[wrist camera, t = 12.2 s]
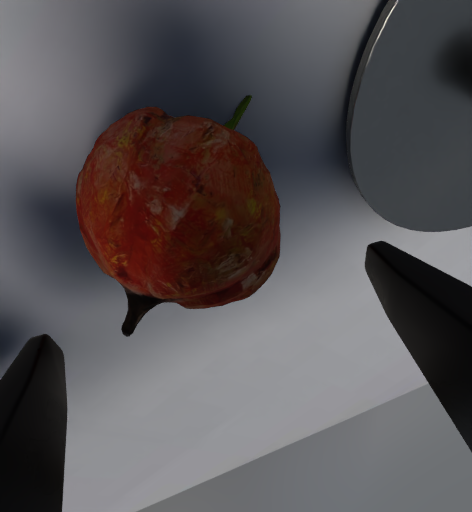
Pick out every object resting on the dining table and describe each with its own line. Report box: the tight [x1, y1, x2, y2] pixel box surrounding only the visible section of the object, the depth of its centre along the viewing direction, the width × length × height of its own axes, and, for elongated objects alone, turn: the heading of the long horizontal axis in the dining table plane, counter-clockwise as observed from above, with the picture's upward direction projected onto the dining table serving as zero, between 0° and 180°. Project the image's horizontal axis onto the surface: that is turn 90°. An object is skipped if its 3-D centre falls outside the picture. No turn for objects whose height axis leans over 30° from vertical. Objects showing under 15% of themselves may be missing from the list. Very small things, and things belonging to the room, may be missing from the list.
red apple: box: [76, 95, 280, 337], centre depth 13 cm, size 7×7×10 cm
